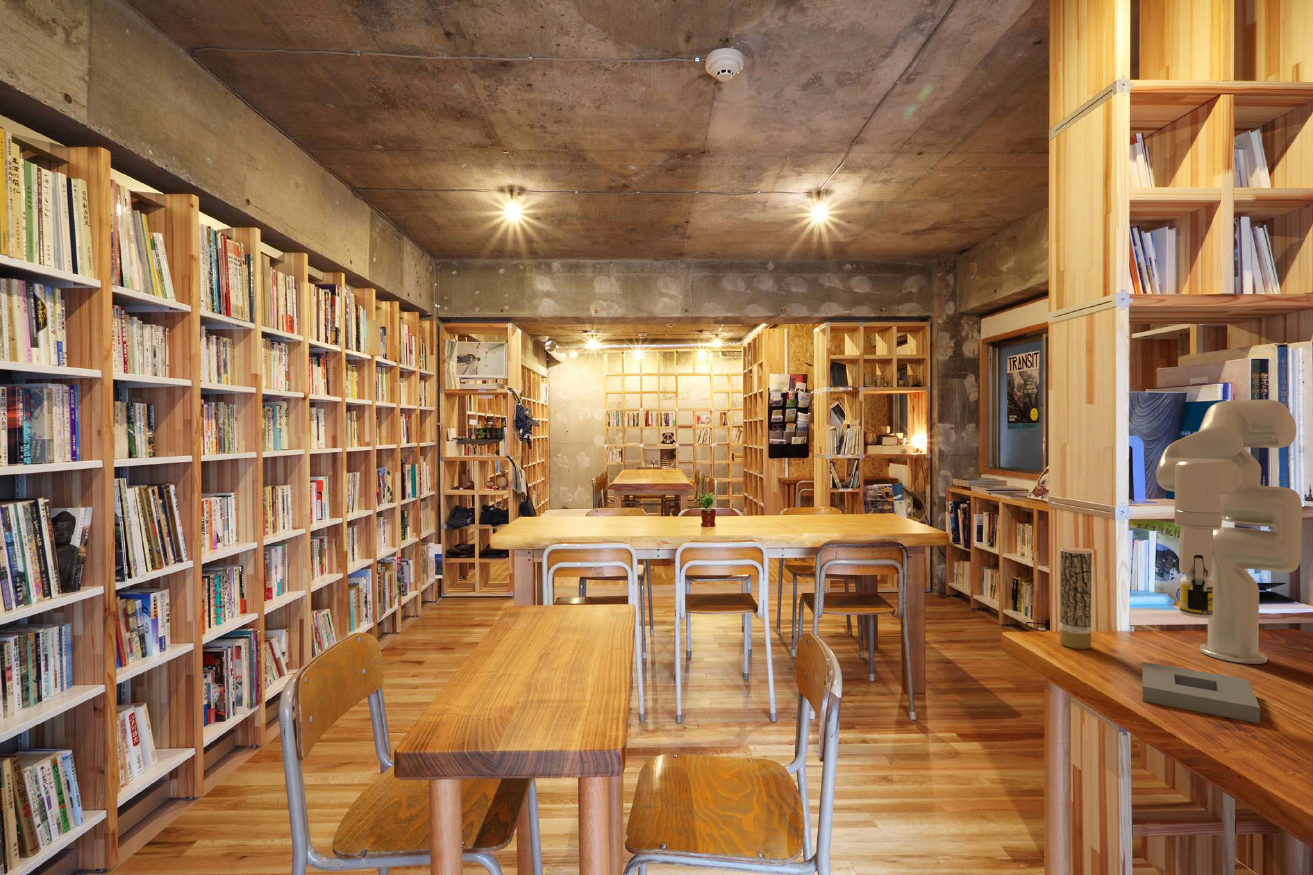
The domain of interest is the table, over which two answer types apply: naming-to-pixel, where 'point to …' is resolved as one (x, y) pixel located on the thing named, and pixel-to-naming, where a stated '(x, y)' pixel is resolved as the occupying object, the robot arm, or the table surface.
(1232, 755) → the table surface
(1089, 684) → the table surface
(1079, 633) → the paper tube
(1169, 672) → the socket board
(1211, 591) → the supplement bottle
